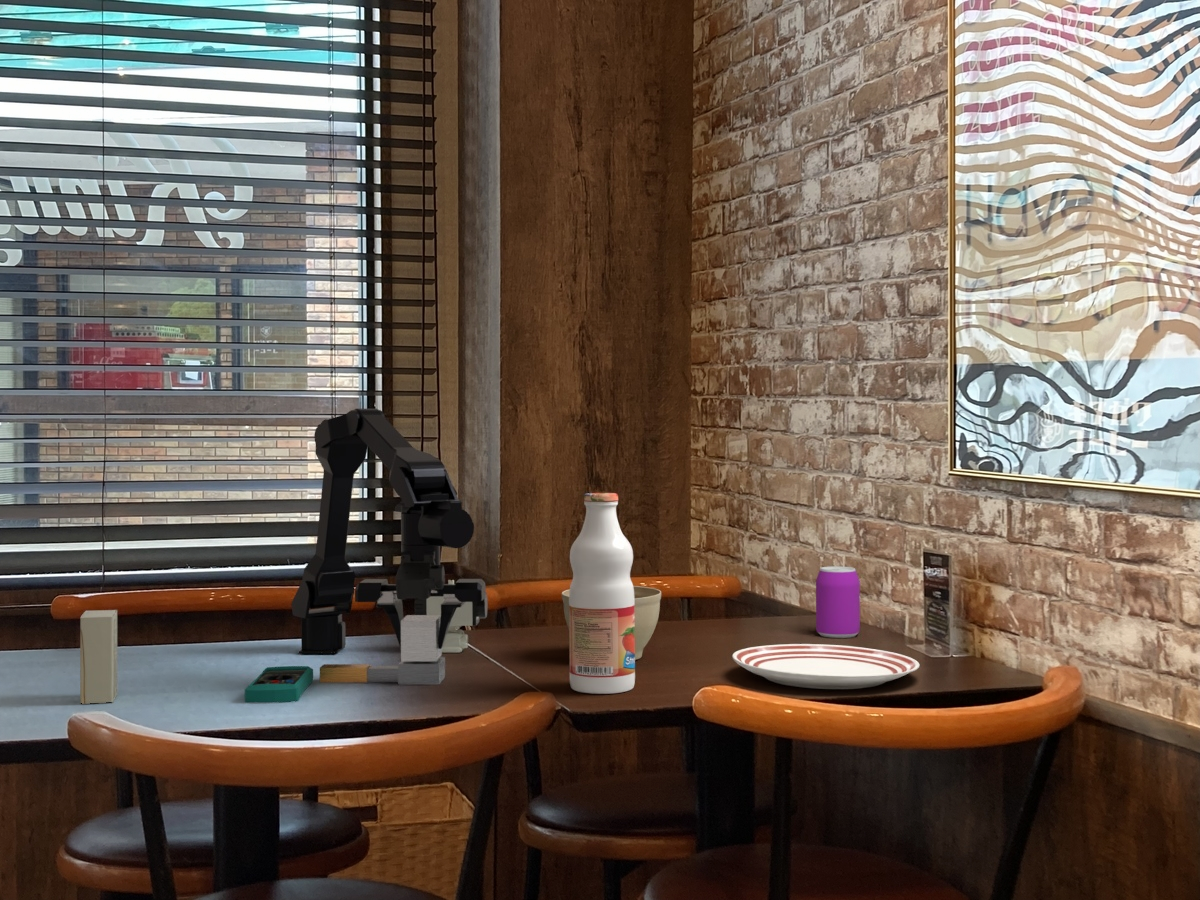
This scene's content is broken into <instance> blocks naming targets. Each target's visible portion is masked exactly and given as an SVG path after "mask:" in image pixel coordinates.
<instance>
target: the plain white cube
mask: <svg viewBox="0 0 1200 900" xmlns="http://www.w3.org/2000/svg"><path fill="white" fill-rule="evenodd" d="M440 619H441V615H415V614H411V615H410V614H407V615H405V616H403V619H402V620H401V648H400V660H401V661H437V660H438V659H439V658H440V657H442V655H443V653H442V648H441V649H439V642H438V638H439V629H440ZM401 661H400V662H401Z"/></svg>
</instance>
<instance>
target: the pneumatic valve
mask: <svg viewBox="0 0 1200 900" xmlns="http://www.w3.org/2000/svg"><path fill="white" fill-rule="evenodd" d="M447 582H448V583H447V584H455V580H454V579H452V580H451V579H448V580H447ZM487 593H488V592H486V597H485V598H484V599H483V600H482V601H480V602H465V603H464V604H463V606H462V607H458V608H456V611H455V613H454V615H453V617H452V619H451V622H450V625H449V628H448V631H447V634H446V638H445V641H444V644H443V647H442V654H454V653H455V654H460V653H462V652H463V650H464V649H467V648H468V647H469V636H468V634H466V633H465V631H464V630H463V629H460V628H461V627H463V626H465V627H466V626H469V627H470V626H471V627H472V626H477V625H478V624H479V623H480V619H487V617H488V606H489V605H488V594H487ZM444 601H445V599H444V596H430V597H429V598H428V599H424V600H419V599H418V598H414V615H441V604H442V603H443V602H444Z"/></svg>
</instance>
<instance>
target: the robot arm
mask: <svg viewBox="0 0 1200 900" xmlns="http://www.w3.org/2000/svg"><path fill="white" fill-rule="evenodd" d="M313 439H314V443H315V456H316V458H317V459H318V461H319V463H320V465H321V467H322V469H323V475H322V476H323V477H322V486H321V493H320V494H321V496H320V505H319V506H320V507H319V515H318V516H319V517H318V526H317V534H316V535H317V537H316V543H315V544H316V545H315V546H316V547H315V554H314V555H313V556H312V558H311V559H310V561H309V562H307V564H306V566H305V567H304V569H303V573H302V578H301V579H302V580H301V582H300V584H299V587H298V589H297V591H296V593H295V595H294V596H293V599H292V601H291V603H290V605H291V611H292V616H294V617H297V618H300V623H301V624H300V625H301V626H300V628H301V629H300V630H301V631H300V632H301V633H300V634H301V635H300V637H301V639H300V640H301V648H300V649H299V650H298V654H302V655H303V654H304V655H305V654H308V655H309V654H311V655H313V654H316V655H318V654H320V655H321V654H338V653H340V652H341V651H342V650H343V649H345V648H346V641H347V640H346V639H347V638H346V637H347V636H346V622H345V621H343V615H344V614H346V615H347V614H351V610H352V606H353V602H354V601H355V602H356V603H376V604H375V607H376V609H377V608H379V609H381V608H382V609H383V611H384V612H385V614H386V615H387V616H388V619H389V620H390V623H391V625H392V628H393V631H394V634H395V637H396V639H397V642H398V645H399V648H400V649H401V620H402V619H403V618H404V611H403V610H404V608H403V600H407V599H415V598H418V599H419V600H424V599H428V598H429V597H430V596H444V599H445V601H444V602H443V603H442V604H441V619H440V629H439V638H438V642H439V649H441V648H442V647H443V644H444V641H445V638H446V634H447V631H448V628H449V625H450V622H451V619H452V617H453V615H454V613H455V611H456V608H458V607H462V606H463V604H464V603H465V602H480V601H482V600H483V599H484V598H485V597H486V593H487V592H486V582H485V581H484V580H483V579H482V578H459V579H457V581H456V582H455V581H454V584H448V583H446V573H445V567H444V564H441V547H442V548H443V547H444V548H451V549H461V548H463V547H465V546H466V545H467V544H468V543H469V542H470V541H471V540H472V538H473V535H474V531H475V524H474V521H473V520H472V517H471V515H470V514H469V513H468V512H467V511H466V510H465V509H463V508H462V507H463V503H462V500H459V498H458V492H457V490H456V488H455V487H454V485H453V484H452V480H451V478H450V476H449V474H448V471H447V469H446V466H445V464H444V463H443V462H442V460H440V459H439V458H437V457H436V456H434V455H432V454H431V453H428V452H424V451H422V450H418V449H416V448H415V447H414V446H413V445H411V444H410V442H409V441H408V440H407V439H406V438H405V437H404V436H403V435H402V434H401V432H399V430H397V429H396V428H395V427H394V425H392V424H391V423H390V422H389V421H388V420H387V419H386V415H385V413H384V411H383V410H380V409H378V408H354V409H351V410H350V411H348V412H347V413H345V414H341V415H338V416H335V417H332V418H329V419H327V418H326V419H324V420H322V421H321V422H320V423H319V424H317V426H316V428H315V431H314V437H313ZM368 448H369V450H371V451H372V452H373V454H375V456H376V457H377V458H378V459H379V460H380V461H381V462H382V463H383V465H385V467H387V469H388V471H389V477H388V482H389V484H391V487H392V489H393V490H394V492H395V493H396V495H397V496H398V497H399V498H400V499H401V501H399V503H397V504H396V506H395V508H394V511H395V512H396V513H400V540H401V541H400V542H401V543H400V544H401V545H400V548H401V550H400V551H401V552H400V555H401V556H400V563H399V566H398V569H397V573H396V575H395V578H394V579H395V583H394V584H393V583H391V584H389V581H388V578H366V579H365V578H364V579H363V580H362V581H359V582H358V583H357V585H355V581H356V573H355V571H354V570H352V568H351V567H350V565H349V563H348V561H347V559H346V554H347V553H346V552H347V543H348V534H349V525H350V524H349V523H350V515H351V507H352V506H351V504H352V495H353V486H354V479H355V478H354V477H355V474H356V472H357V471H358V470H359V468H360V467H361V466H362V464H363V463H364V462H365V460H366V458H367V453H368ZM353 599H354V601H353Z"/></svg>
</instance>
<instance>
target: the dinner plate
mask: <svg viewBox="0 0 1200 900" xmlns="http://www.w3.org/2000/svg"><path fill="white" fill-rule="evenodd" d="M732 660H733V661H734V662H735V663H736V664H737V665H739V666H740V667H742V668H744V669H745V670H747V671H749V672H751V673H752V674H754V675H758V676H760V677H763V678H764V679H766V680H768V681H769V682H773V683H776V684H778V685H779V684H780V685H785V686H791V687H797V688H798V687H799V688H806V689H816V690H817V689H820V690H855V689H865V688H872V687H876V686H880V685H883V684H885V683H886V682H890V681H893V680H896V679H899V678H901V677H903V676H906V675H907V674H910V673H912V672H915V671H917V670H918V669H919V668H920V663H919V661H917V660H916V659H914V658H912V657H910V656H907V655H904V654H901V653H896V652H892V651H887V650H882V649H874V648H867V647H860V646H852V645H840V644H837V645H836V644H822V643H821V644H820V643H819V644H818V643H817V644H814V643H813V644H812V643H801V644H800V643H788V644H771V645H770V644H768V645H760V646H751V647H747V648H742V649H739V650H737V651H735V652H733V654H732Z"/></svg>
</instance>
